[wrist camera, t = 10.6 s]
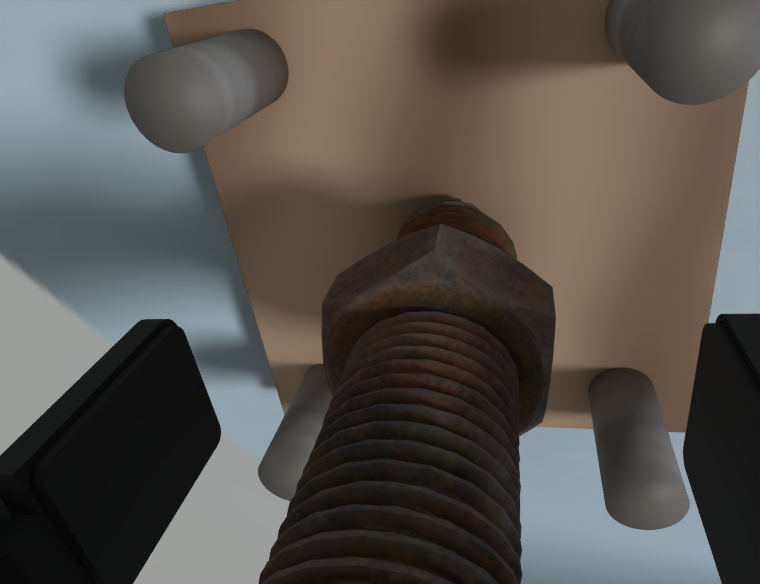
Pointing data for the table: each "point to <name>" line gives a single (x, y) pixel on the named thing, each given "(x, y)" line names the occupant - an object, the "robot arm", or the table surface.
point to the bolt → (423, 411)
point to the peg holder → (477, 182)
